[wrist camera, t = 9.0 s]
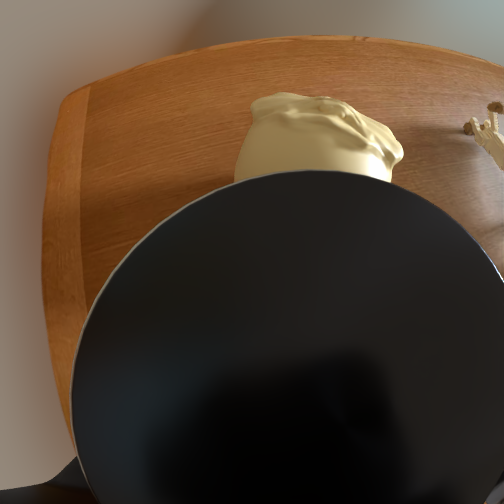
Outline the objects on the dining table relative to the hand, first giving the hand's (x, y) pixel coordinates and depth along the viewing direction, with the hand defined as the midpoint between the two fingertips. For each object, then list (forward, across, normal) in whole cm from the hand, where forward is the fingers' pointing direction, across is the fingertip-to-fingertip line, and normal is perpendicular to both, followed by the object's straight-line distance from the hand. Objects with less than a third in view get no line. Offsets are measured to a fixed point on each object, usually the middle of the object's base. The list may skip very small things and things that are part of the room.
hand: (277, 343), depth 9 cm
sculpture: (+18, -6, +1) cm, 19 cm away
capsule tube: (+4, 0, +6) cm, 7 cm away
